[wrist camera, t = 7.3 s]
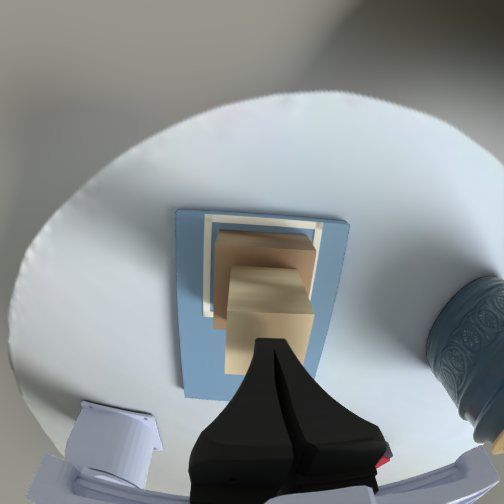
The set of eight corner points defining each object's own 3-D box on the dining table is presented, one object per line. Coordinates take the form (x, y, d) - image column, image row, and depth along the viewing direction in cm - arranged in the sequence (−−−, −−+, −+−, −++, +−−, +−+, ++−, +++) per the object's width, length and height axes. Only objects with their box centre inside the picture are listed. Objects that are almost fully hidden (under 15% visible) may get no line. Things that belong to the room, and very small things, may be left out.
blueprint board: (186, 390, 27) (184, 398, 26) (178, 209, 21) (175, 212, 20) (305, 394, 28) (307, 402, 27) (345, 220, 21) (350, 225, 20)
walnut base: (216, 305, 22) (212, 329, 20) (219, 229, 20) (215, 244, 17) (295, 309, 23) (301, 333, 20) (307, 235, 21) (316, 250, 18)
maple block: (228, 320, 19) (224, 373, 15) (231, 265, 18) (227, 310, 13) (288, 323, 20) (300, 375, 15) (297, 269, 18) (314, 314, 13)
